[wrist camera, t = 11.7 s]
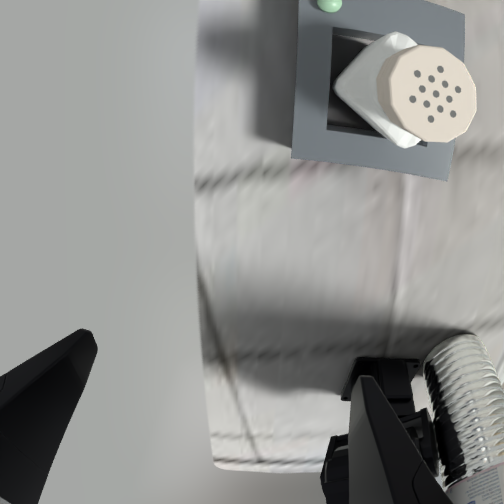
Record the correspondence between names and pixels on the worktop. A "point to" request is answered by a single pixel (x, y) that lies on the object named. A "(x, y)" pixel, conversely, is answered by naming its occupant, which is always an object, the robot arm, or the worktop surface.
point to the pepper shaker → (409, 91)
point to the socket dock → (318, 81)
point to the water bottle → (467, 419)
